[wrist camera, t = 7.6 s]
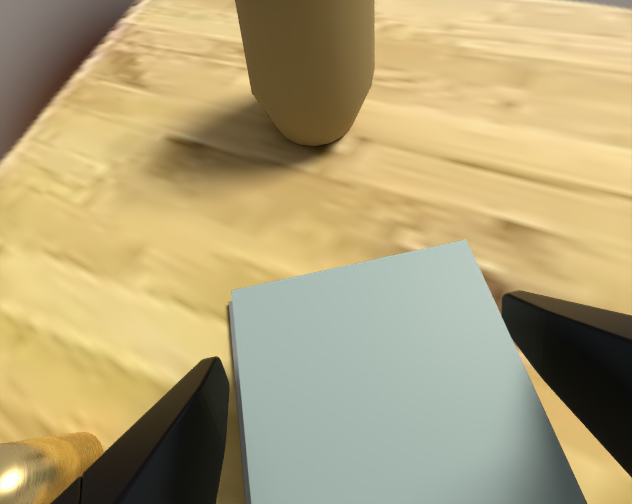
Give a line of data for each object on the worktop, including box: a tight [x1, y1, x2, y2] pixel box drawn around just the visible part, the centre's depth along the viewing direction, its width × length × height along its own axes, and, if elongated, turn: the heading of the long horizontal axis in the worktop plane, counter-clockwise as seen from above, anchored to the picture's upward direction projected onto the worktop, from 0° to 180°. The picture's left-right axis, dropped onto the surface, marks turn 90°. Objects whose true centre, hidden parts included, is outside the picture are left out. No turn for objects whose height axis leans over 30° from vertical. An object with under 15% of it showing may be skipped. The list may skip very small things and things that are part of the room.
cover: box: [231, 240, 587, 504], centre depth 11 cm, size 6×6×10 cm
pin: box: [0, 432, 103, 504], centre depth 13 cm, size 3×3×4 cm
